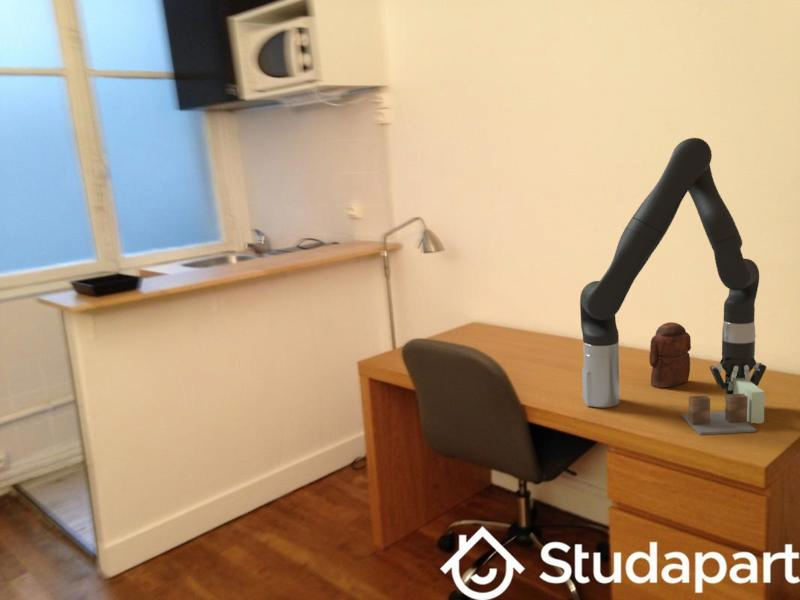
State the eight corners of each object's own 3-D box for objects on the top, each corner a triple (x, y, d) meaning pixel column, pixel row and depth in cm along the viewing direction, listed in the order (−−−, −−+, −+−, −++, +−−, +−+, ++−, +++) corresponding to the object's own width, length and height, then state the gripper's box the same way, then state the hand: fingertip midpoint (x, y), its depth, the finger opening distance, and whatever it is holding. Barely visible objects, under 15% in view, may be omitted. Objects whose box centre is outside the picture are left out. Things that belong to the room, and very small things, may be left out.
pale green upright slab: (751, 423, 168) (752, 392, 167) (727, 403, 182) (727, 374, 180) (763, 423, 168) (764, 391, 166) (738, 402, 182) (739, 373, 180)
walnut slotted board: (692, 424, 169) (692, 399, 167) (688, 421, 171) (688, 396, 170) (747, 421, 168) (747, 396, 167) (742, 418, 170) (743, 393, 169)
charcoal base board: (699, 434, 164) (699, 432, 164) (681, 416, 176) (681, 413, 176) (756, 431, 163) (756, 429, 163) (734, 413, 175) (734, 411, 175)
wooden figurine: (675, 376, 205) (676, 317, 202) (692, 382, 200) (693, 321, 196) (645, 384, 201) (644, 324, 197) (661, 390, 195) (661, 328, 191)
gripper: (760, 332, 179) (758, 396, 182) (704, 336, 180) (703, 399, 183) (774, 340, 172) (771, 406, 175) (716, 343, 172) (715, 409, 176)
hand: (737, 402), depth 179 cm, fingers closed on pale green upright slab, 3 cm apart
